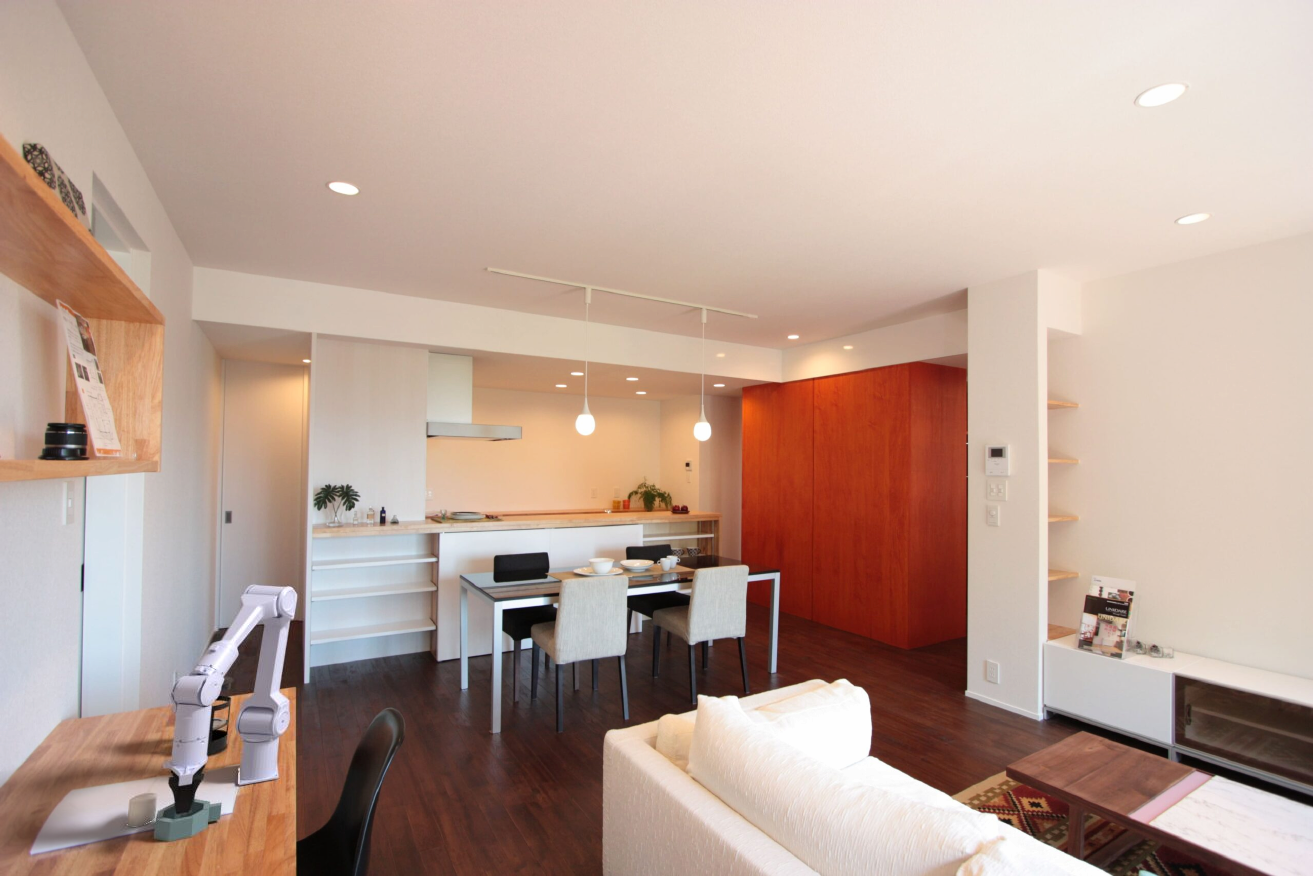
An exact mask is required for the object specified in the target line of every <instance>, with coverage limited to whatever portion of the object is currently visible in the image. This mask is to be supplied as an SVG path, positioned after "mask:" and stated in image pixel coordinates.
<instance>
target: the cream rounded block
mask: <svg viewBox="0 0 1313 876" xmlns="http://www.w3.org/2000/svg"><path fill="white" fill-rule="evenodd" d="M157 805H158V794H157V793H155V792H145V793H142V794H141V793H140V794H137V795H135V796H133V797H132V798H130V799H129V802H128V811H127V820H126V825H127V824H128V825H129V826H138V827H142V826H141V825H143V826H145V825H144V824H146V823H148V822H150V821H152V820H153V819H154V818H155V819H156V815H157V813H156V812H157ZM155 819H154V820H155ZM154 820H153V821H154ZM153 821H152V822H153ZM150 823H151V822H150ZM148 824H149V823H148ZM146 825H147V824H146ZM129 826H128V827H129Z"/></svg>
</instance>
